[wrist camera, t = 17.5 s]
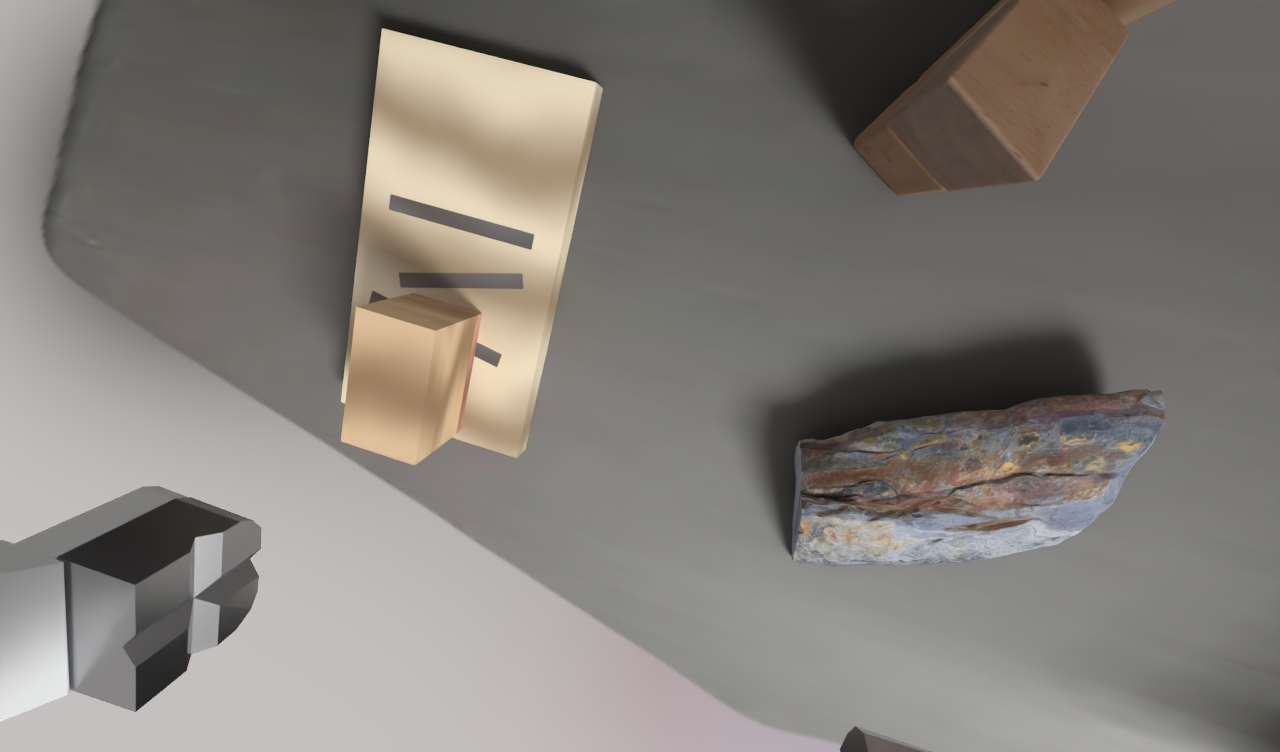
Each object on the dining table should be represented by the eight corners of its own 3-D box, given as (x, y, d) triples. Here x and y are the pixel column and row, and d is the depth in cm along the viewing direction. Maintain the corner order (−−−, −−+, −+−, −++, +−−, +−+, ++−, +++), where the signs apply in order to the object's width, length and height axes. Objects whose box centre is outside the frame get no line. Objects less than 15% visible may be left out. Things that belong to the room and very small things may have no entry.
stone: (800, 607, 33) (766, 475, 28) (790, 539, 37) (759, 413, 32) (1159, 572, 29) (1196, 409, 24) (1105, 500, 33) (1126, 347, 28)
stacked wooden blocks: (848, 143, 28) (1006, 35, 11) (1054, -53, 25) (1718, -629, 8) (900, 200, 29) (1131, 180, 11) (1110, 13, 25) (1871, -406, 8)
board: (399, 36, 30) (381, 28, 29) (603, 88, 29) (595, 82, 28) (356, 394, 36) (340, 402, 35) (525, 448, 35) (516, 458, 34)
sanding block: (413, 292, 32) (356, 306, 28) (482, 313, 32) (435, 330, 27) (396, 409, 34) (340, 441, 30) (460, 430, 34) (414, 465, 29)
